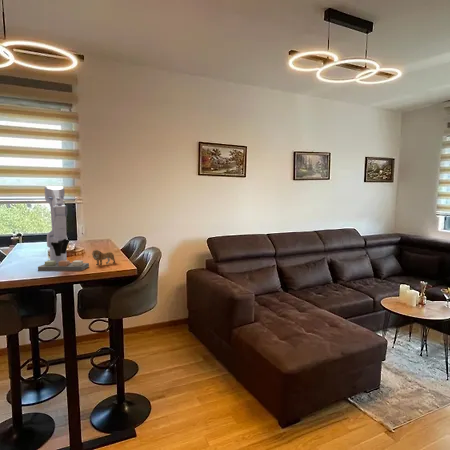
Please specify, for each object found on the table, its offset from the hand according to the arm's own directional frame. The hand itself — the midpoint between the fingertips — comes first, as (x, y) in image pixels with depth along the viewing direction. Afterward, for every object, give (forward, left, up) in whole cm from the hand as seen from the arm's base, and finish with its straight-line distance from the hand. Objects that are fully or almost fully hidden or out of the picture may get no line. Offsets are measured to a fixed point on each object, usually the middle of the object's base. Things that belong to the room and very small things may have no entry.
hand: (60, 254), depth 175 cm
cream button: (-1, +8, -6) cm, 10 cm away
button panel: (-1, +1, -8) cm, 8 cm away
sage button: (-1, -6, -6) cm, 9 cm away
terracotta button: (-1, +1, -6) cm, 6 cm away
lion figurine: (-12, +18, -8) cm, 23 cm away
